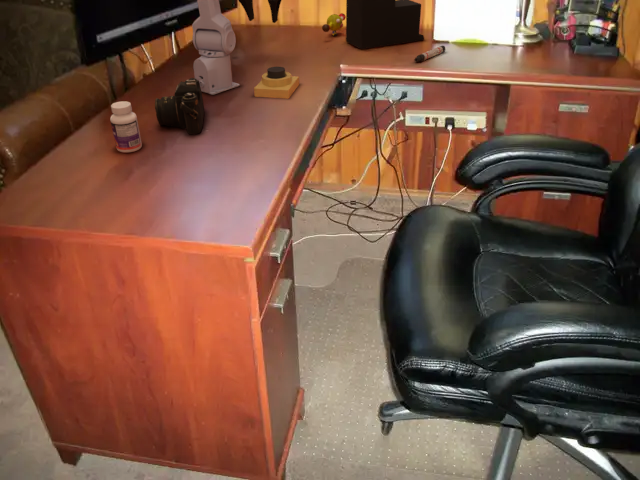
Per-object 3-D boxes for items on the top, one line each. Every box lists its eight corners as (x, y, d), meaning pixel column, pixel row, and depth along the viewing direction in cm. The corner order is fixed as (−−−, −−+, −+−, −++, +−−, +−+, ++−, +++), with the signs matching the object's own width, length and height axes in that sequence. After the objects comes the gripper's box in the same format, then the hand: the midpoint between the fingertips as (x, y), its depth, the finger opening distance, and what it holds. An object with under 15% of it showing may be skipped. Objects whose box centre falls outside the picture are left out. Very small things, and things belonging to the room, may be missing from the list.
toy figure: (333, 42, 200) (333, 21, 196) (317, 41, 202) (317, 20, 198) (351, 29, 214) (351, 9, 210) (336, 28, 216) (336, 8, 212)
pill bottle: (119, 143, 135) (110, 100, 130) (144, 142, 135) (136, 99, 130) (114, 153, 130) (104, 109, 125) (140, 152, 131) (131, 108, 125)
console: (288, 98, 157) (287, 83, 155) (254, 96, 158) (253, 81, 156) (299, 84, 166) (298, 69, 164) (267, 82, 167) (266, 68, 165)
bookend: (406, 33, 208) (410, -43, 195) (424, 40, 200) (430, -39, 187) (345, 42, 200) (345, -37, 187) (361, 50, 192) (362, -31, 179)
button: (282, 80, 158) (282, 72, 157) (265, 79, 159) (264, 71, 158) (287, 74, 162) (287, 66, 160) (270, 73, 162) (270, 66, 161)
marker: (439, 51, 189) (440, 44, 188) (445, 52, 188) (445, 45, 187) (411, 63, 180) (411, 56, 179) (417, 64, 179) (417, 57, 178)
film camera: (150, 115, 148) (142, 74, 143) (200, 107, 153) (195, 67, 147) (166, 142, 135) (159, 98, 129) (221, 132, 139) (216, 89, 134)
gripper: (286, -31, 174) (291, 17, 182) (240, -34, 178) (247, 14, 187) (276, -24, 169) (281, 26, 177) (229, -26, 173) (236, 22, 182)
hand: (263, 20), depth 182 cm, fingers open, 7 cm apart
